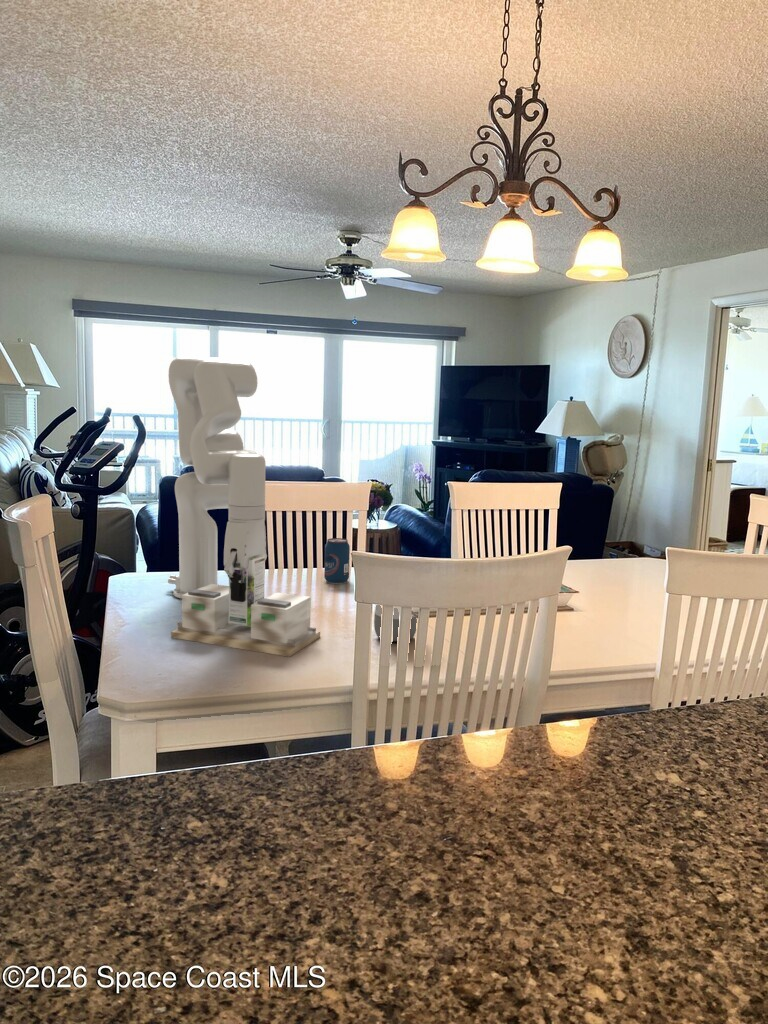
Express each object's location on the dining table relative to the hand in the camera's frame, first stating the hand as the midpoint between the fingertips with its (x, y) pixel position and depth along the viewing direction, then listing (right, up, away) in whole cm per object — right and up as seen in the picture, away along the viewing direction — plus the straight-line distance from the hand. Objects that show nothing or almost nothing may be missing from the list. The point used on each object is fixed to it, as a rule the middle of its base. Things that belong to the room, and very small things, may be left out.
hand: (246, 596), depth 156 cm
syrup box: (0, -6, +1) cm, 6 cm away
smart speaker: (+31, -10, +3) cm, 33 cm away
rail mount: (0, -9, +1) cm, 9 cm away
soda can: (+16, -2, +52) cm, 55 cm away
